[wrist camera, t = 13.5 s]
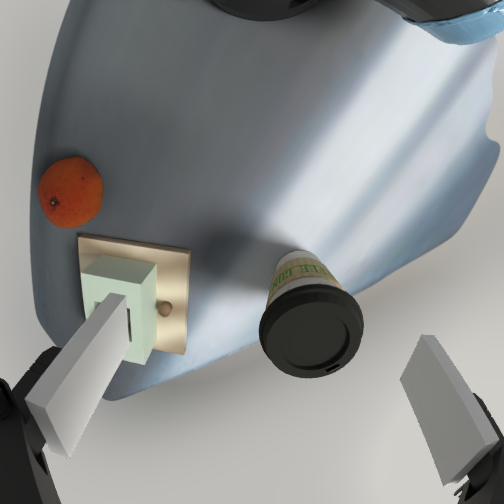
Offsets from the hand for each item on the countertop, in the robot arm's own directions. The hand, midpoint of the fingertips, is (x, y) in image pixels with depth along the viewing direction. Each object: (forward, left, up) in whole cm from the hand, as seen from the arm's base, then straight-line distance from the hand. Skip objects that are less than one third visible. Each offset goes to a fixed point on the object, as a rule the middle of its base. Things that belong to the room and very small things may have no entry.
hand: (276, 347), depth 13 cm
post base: (+15, -17, -27) cm, 35 cm away
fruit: (0, -25, -27) cm, 36 cm away
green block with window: (+15, -17, -25) cm, 34 cm away
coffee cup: (+8, +5, -27) cm, 28 cm away
